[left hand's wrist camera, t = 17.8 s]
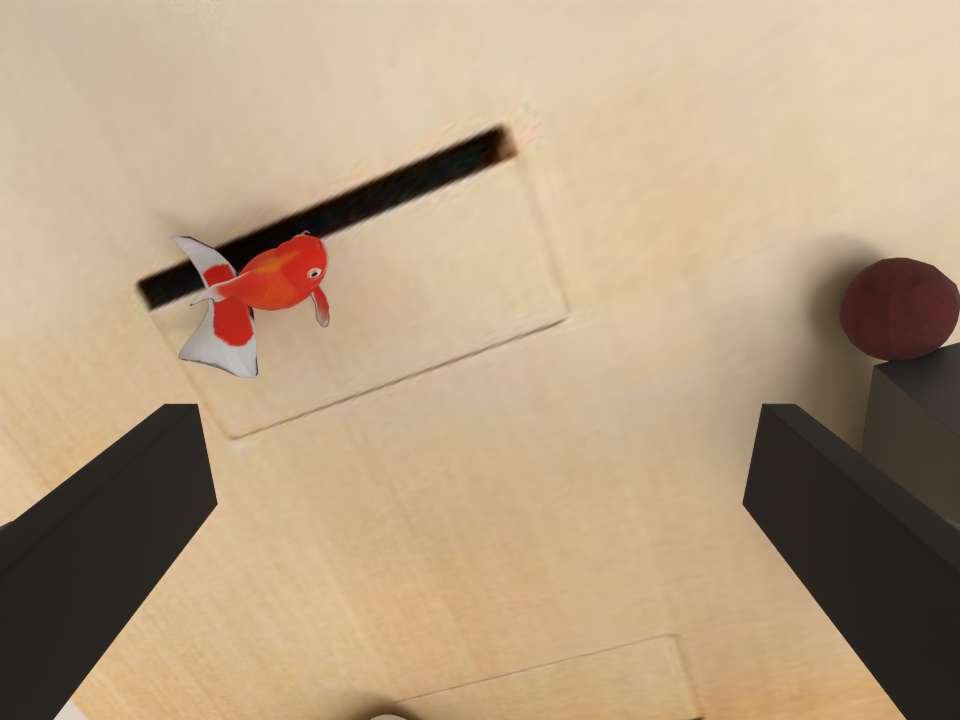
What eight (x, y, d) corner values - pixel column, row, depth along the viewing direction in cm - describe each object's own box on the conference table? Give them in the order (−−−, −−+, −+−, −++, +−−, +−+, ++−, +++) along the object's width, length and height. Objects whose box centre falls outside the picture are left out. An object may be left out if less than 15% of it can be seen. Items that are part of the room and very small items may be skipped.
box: (872, 365, 40) (1008, 478, 31) (962, 340, 39) (1129, 449, 30) (847, 547, 53) (938, 667, 43) (915, 531, 52) (1022, 649, 43)
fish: (385, 359, 41) (277, 375, 32) (249, 378, 48) (133, 394, 40) (364, 217, 40) (250, 193, 32) (231, 258, 48) (110, 249, 40)
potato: (825, 354, 46) (884, 387, 39) (814, 267, 43) (875, 286, 36) (916, 327, 45) (992, 356, 38) (910, 237, 42) (991, 251, 36)
